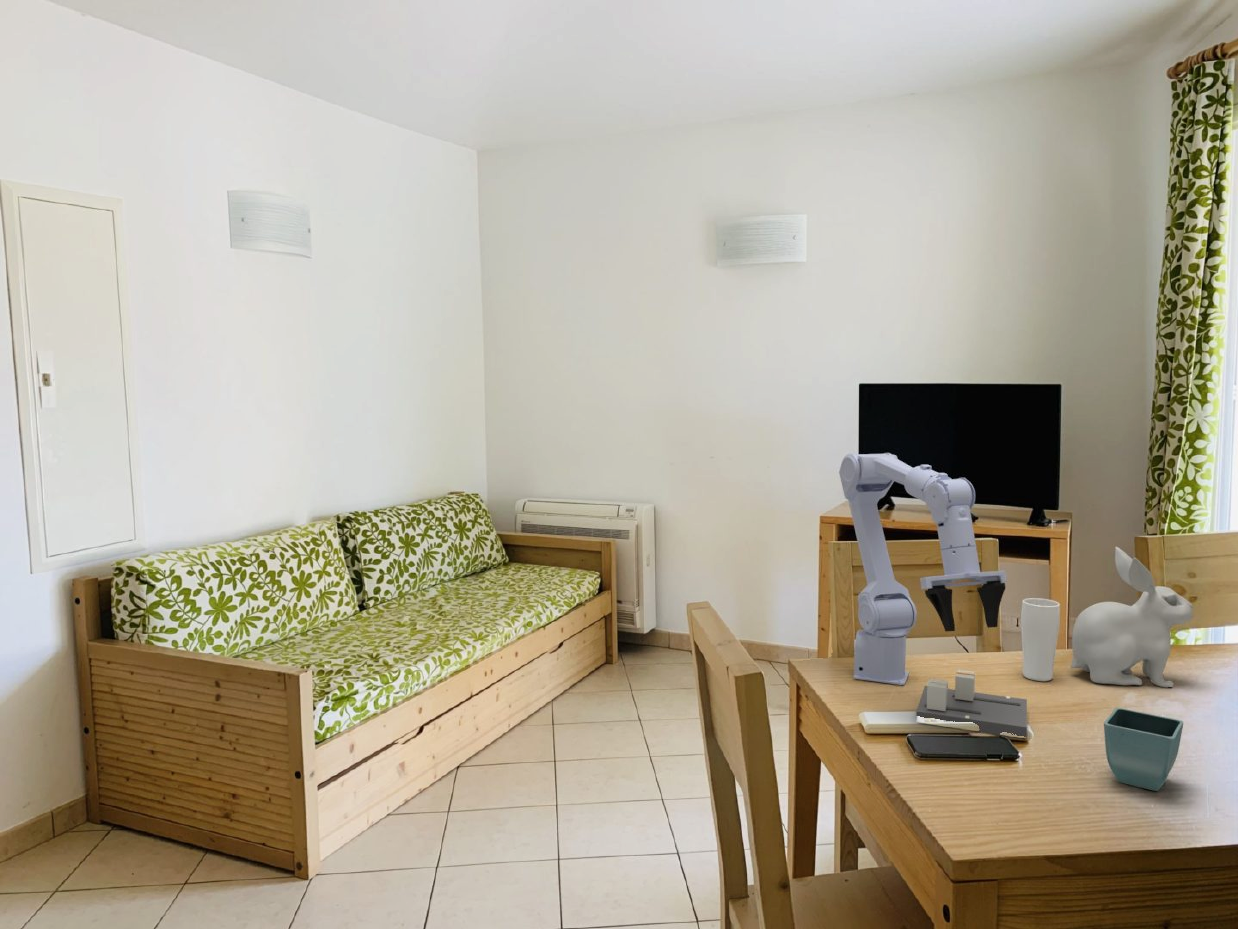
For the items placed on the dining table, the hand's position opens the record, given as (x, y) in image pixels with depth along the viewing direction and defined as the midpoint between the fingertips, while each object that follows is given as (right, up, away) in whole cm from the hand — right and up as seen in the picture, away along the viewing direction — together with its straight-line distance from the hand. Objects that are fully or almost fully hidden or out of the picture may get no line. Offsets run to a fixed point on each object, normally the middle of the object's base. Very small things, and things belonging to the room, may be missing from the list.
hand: (971, 629), depth 151 cm
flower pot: (+16, -18, -21) cm, 32 cm away
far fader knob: (+2, -13, +8) cm, 15 cm away
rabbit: (+39, -14, +23) cm, 48 cm away
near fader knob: (-5, -14, +3) cm, 15 cm away
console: (+2, -16, +4) cm, 16 cm away
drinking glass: (+22, -14, +24) cm, 36 cm away
